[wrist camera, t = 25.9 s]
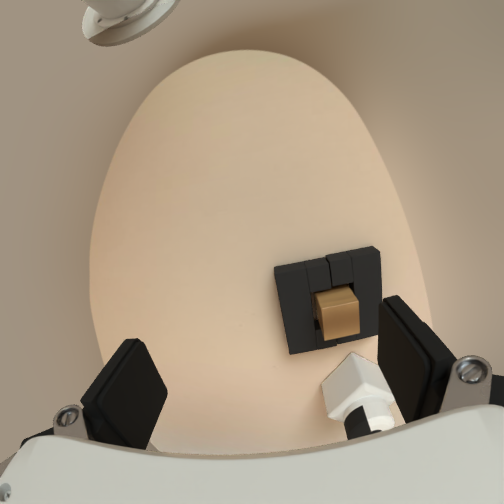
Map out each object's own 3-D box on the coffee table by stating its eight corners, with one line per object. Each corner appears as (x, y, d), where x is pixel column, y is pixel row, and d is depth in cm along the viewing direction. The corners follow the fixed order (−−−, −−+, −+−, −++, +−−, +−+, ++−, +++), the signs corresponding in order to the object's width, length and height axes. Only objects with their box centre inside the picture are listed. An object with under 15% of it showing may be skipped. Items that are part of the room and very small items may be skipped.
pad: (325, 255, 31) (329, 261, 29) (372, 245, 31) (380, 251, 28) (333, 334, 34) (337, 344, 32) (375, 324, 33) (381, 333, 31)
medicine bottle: (353, 397, 37) (370, 454, 25) (319, 383, 36) (331, 446, 25) (383, 367, 35) (411, 423, 24) (351, 350, 35) (375, 411, 23)
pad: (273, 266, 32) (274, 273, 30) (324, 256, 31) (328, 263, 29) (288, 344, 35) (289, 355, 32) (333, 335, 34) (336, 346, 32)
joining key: (312, 286, 32) (321, 308, 27) (344, 280, 32) (358, 300, 26) (316, 315, 33) (324, 340, 28) (346, 308, 33) (359, 333, 27)
